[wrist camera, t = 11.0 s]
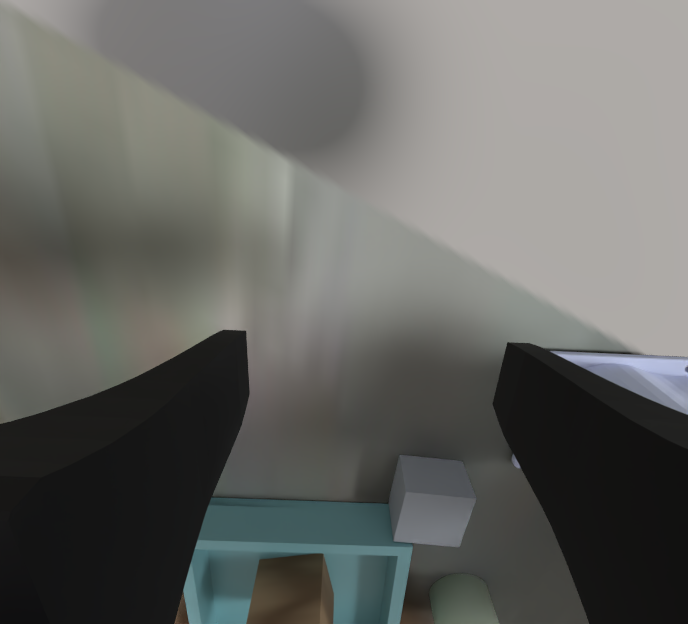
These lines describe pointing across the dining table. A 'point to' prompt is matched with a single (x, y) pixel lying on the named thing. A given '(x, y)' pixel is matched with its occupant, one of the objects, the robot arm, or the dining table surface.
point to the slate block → (430, 501)
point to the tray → (291, 540)
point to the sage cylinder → (461, 601)
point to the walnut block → (292, 591)
